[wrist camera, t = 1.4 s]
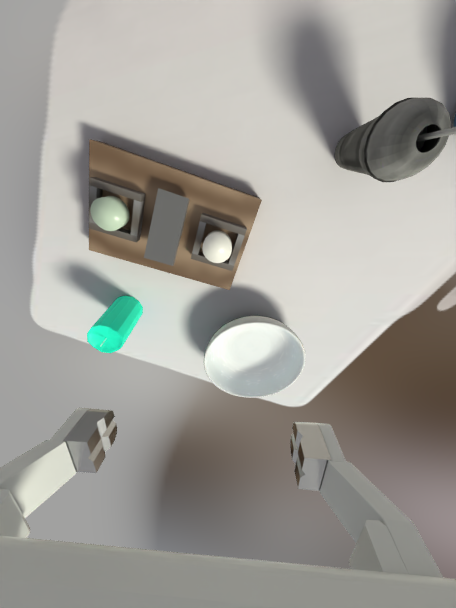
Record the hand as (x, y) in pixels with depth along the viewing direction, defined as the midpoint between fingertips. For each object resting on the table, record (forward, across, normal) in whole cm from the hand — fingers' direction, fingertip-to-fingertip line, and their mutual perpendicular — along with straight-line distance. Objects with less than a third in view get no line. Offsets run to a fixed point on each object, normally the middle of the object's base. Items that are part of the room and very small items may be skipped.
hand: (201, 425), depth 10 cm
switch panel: (+34, +10, -7) cm, 36 cm away
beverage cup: (+34, -17, -18) cm, 42 cm away
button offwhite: (+29, +2, -4) cm, 30 cm away
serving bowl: (+38, -5, +19) cm, 43 cm away
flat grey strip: (+28, +10, -6) cm, 31 cm away
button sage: (+28, +18, -9) cm, 34 cm away
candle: (+36, +22, +10) cm, 43 cm away
